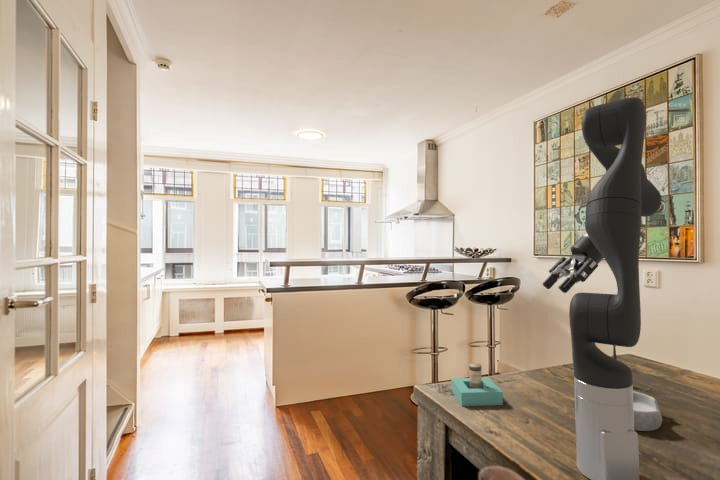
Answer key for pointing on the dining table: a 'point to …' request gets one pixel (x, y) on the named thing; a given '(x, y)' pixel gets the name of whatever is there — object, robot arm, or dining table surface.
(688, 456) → the dining table surface
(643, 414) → the dish
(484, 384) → the teal square frame
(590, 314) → the robot arm
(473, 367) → the tan banded cylinder
